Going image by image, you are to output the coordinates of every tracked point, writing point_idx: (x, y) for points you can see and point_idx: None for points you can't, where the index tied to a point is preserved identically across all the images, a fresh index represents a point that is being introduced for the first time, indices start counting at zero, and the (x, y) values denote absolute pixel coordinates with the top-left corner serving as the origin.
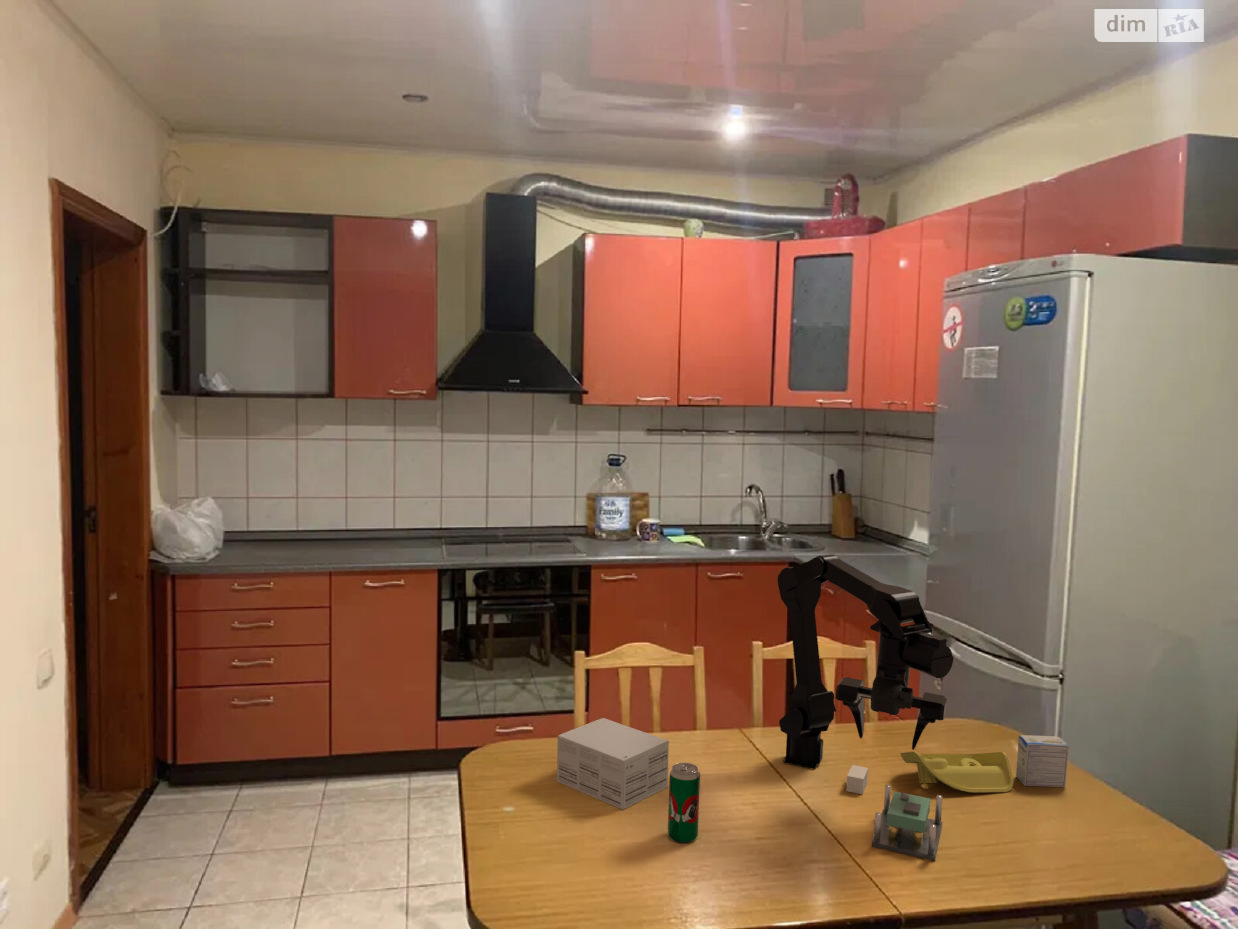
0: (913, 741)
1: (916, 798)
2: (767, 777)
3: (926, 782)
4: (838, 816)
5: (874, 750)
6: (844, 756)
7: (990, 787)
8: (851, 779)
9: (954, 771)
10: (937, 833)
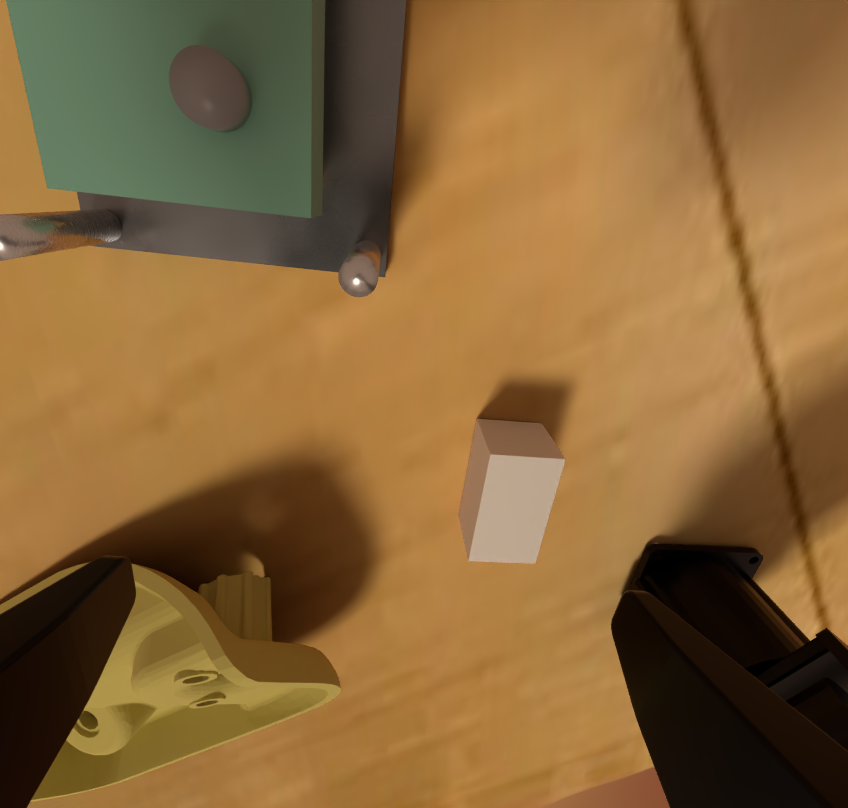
0: (38, 628)
1: (139, 147)
2: (845, 425)
3: (237, 575)
4: (594, 153)
5: (438, 721)
6: (533, 660)
7: None
8: (540, 451)
9: None
10: None
